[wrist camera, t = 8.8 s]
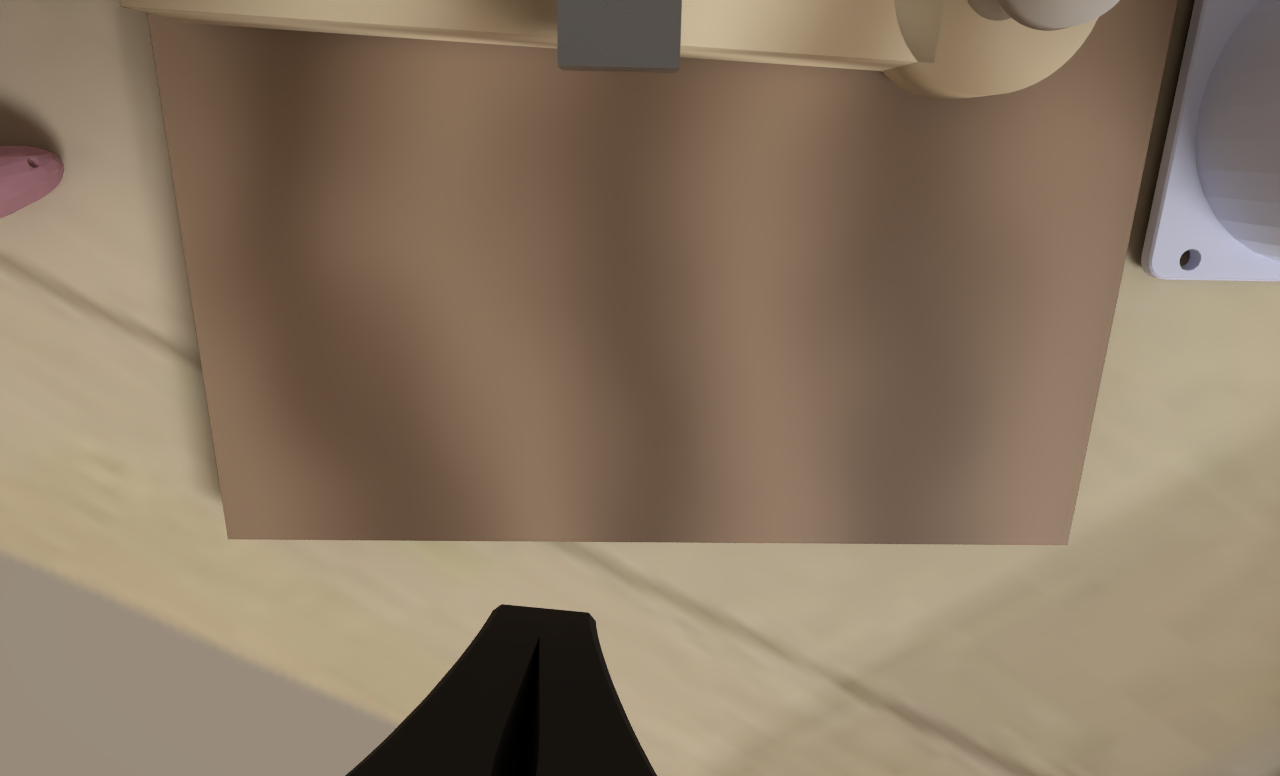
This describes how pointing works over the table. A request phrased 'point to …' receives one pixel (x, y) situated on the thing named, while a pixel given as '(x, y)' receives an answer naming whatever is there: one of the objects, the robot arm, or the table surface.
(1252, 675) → the table surface
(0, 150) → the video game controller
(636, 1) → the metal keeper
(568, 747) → the robot arm
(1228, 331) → the table surface
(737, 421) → the walnut board
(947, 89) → the wooden link
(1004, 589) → the table surface
